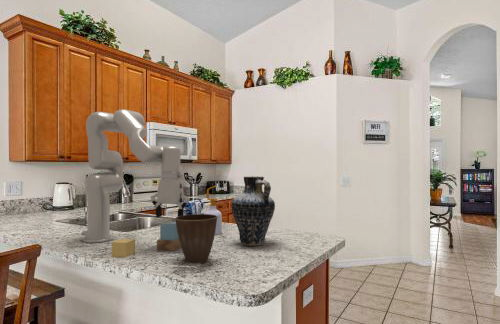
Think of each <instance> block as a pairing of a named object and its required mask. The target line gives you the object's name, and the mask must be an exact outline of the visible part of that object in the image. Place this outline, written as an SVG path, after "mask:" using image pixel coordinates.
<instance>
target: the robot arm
mask: <svg viewBox="0 0 500 324" xmlns="http://www.w3.org/2000/svg"><path fill="white" fill-rule="evenodd" d="M85 128H86V129H85V130H86V135H87V141H88V143H87V146H88V147H87V150H88V165H89V167H90V168H91V169H92V170H95V171H96V170H98V171H100V170H101V171H107V172H93V173H92V172H91V174H89V175H87V177H86V178H85V181H84V184H85V185H84V186H85V191H86V197H87V199H86V200H87V201H86V202H87V203H86V205H87V209H86V210H87V217H86V219H87V221H86V222H87V225H86V227H87V228H86V229H87V230H86V229H85V230H82V232H80V235H81V236H84V238H83V242H84V243H88V244H89V243H90V244H93V243H94V244H95V243H105V242H109V241H112V240H113V239H114V236H113V235H111V234H110V230H111V229H110V226H111V225H110V224H111V223H110V222H111V221H110V220H111V219H110V217H111V216H110V214H111V213H110V212H111V210H110V208H111V206H110V203H111V202H110V198H109V197H108V195H107V193H115V192H119V191H120V190H121V189H122V187H123V185H124V161H123V156H122V155H121V154H120V152H119V151H116V150H109V140H108V137H107V136H106V134H105V133H104V132H105V131H106V132H111V133H122V134H124V135H125V137H127V138H128V147H129V149H130V152H131V153H132V154H133V155H134V156H135V157H136V158H137V160H138V161H140V162H142V163H143V164H144V163H145V164H157V165H158V164H159V165H161V167H160V169H161V171H160V172H161V175H160V176H161V177H160V179H159V181H158V186H157V193H155V194H153V195H151V196H150V200H151V203H152V204H153V206H154V208H155V217H156V218H160V217H162V213H163V212H162V210H163V209H162V205H163V204H164V205H165V204H167V205H176V206H177V207H178V209H177V217H178V216H183V215H184V209H185V208H186V206H188V204H189V203H190V200H191V199H190V197H188V196H187V195H185V194H184V185H183V180H182V179H181V178H183V177H184V175H183V173H181V156H182V155H181V153H182V151H181V147H178V146H171V145H170V146H161V145H151V144H147V142H145V141H144V138H145V137H146V135H147V128H146V127H145V118H144V116H143V114H141V113H140V112H138V111H135V110H134V111H133V110H130V109H129V110H128V109H125V108H124V109H118V110H116V111H115V112H114V113H111V112H105V111H95V112H92V113H91V114H89V115H88V117H87V120H86V122H85Z"/></svg>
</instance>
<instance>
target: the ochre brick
mask: <svg viewBox="0 0 500 324" xmlns="http://www.w3.org/2000/svg"><path fill="white" fill-rule="evenodd" d="M135 254H136V239H131V238H120V239H119V238H118V239H117V240H115V241H114V240H113V241H111V254H110V255H111V257H113V258H114V257H115V258H127V257H130V256H132V255H135Z"/></svg>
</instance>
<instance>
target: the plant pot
mask: <svg viewBox="0 0 500 324" xmlns="http://www.w3.org/2000/svg"><path fill="white" fill-rule="evenodd" d="M174 219H175V220H174V221H175V223H176V227H177V232H178V237H179V241H180V244H181V248H182V251H183V253H182V254H183V256H184V259H185V261H186V262H187V263H191V264H199V265H201V264H205V263H207V262H208V260H209V257H210V254H211V252H212V251H211V250H212V247H213V243H214V240H215V237H216V235H215V230H216V223H217V216H216V215H210V214H205V213H197V214H196V213H195V214H183V216H178V215H177V216H176V217H175V218H174Z"/></svg>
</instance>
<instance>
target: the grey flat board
mask: <svg viewBox="0 0 500 324" xmlns="http://www.w3.org/2000/svg"><path fill="white" fill-rule="evenodd" d="M143 252H153V253H154V252H156V253H171V254H183V251H182V248H181V249H179V250H177V251H161V250H157V244H156V245H153V246H151V247H149V248H146V249H144V250H143Z"/></svg>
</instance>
